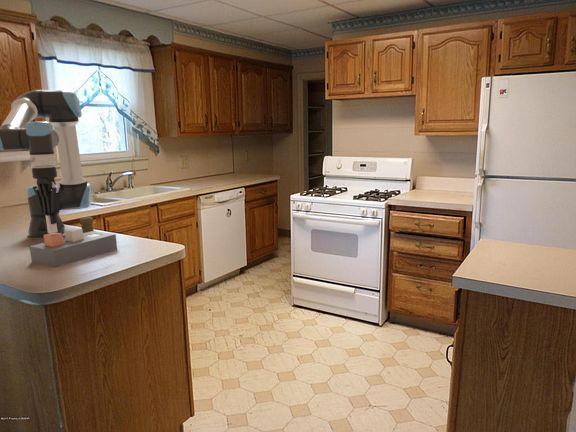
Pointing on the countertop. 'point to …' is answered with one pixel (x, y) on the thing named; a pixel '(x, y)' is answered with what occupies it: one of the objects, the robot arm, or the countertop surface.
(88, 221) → the cork
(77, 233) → the cream white cube
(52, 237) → the terracotta button
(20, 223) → the countertop surface
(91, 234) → the cream square button
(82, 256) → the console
